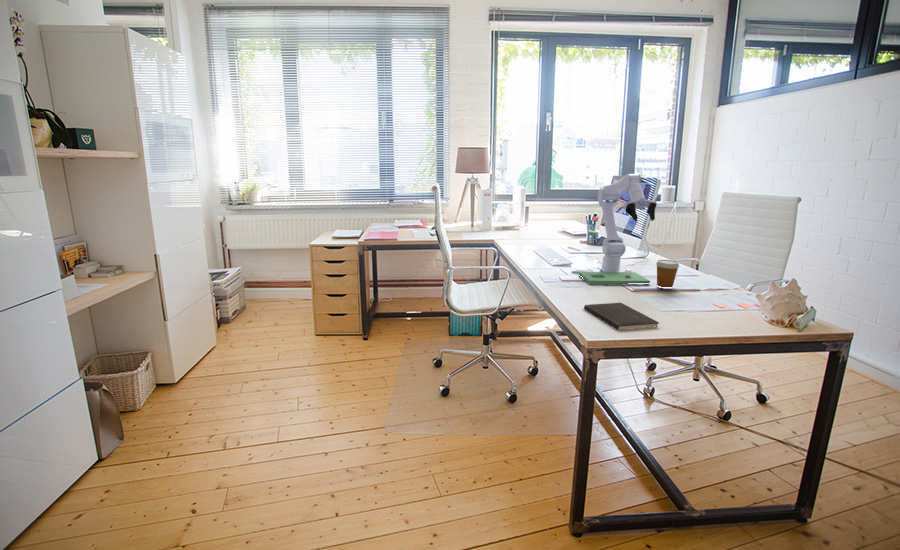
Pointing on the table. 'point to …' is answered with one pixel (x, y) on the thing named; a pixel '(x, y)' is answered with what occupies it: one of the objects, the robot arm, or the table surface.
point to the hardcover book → (620, 316)
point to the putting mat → (612, 278)
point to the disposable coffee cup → (666, 272)
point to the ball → (628, 272)
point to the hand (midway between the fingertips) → (644, 219)
